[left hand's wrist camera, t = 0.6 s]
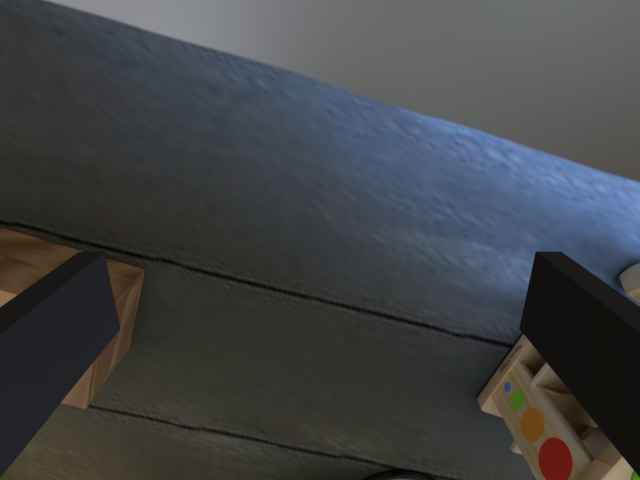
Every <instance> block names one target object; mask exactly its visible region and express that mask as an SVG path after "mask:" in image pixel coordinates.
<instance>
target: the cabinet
mask: <svg viewBox="0 0 640 480" xmlns="http://www.w3.org/2000/svg"><path fill="white" fill-rule="evenodd" d="M78 252H84V251H81V250H77V249H74V248H70V247H67V246H63V245H60V244H57V243H53V242H50V241H46V240H43V239H39V238H36V237H32V236H29V235H26V234H22V233H19V232H15V231H12V230H8V229H5V228H1V227H0V307H1V306H3V305H4V304H5V303H7V302H8V301H10V300H11V299H12V298H14V297H15V296H17V295H18V294H20V293H21V292H22V291H24V290H25V289H27V288H28V287H30V286H31V285H32V284H34V283H35V282H37V281H38V280H39V279H41V278H42V277H44V276H45V275H47V274H48V273H49V272H51V271H52V270H54V269H55V268H57V267H58V266H59V265H61V264H62V263H64V262H65V261H66V260H68V259H69V258H71V257H72V256H74V255H75V254H76V253H78ZM106 263H107V268H108V272H109V277H110V282H111V286H112V291H113V296H114V300H115V305H116V310H117V314H118V319H119V324H120V328H121V329H120V330H119V331H118V333H117V334H116V335H115V336H114V338H113V339H112V340H111V341H110V343H109V344H108V345H107V346H106V348H105V349H104V350H103V351H102V352H101V354H100V355H99V356H98V357H97V359H96V360H95V361H94V362H93V364H92V365H91V366H90V367H89V369H88V370H87V371H86V372H85V373H84V375H83V376H82V377H81V378H80V380H79V381H78V382H77V383H76V385H75V386H74V387H73V388H72V390H71V391H70V392H69V393H68V395H67V396H66V397H65V398H64V399H63V401H62V402H61V403H62V404H66V405H71V406H75V407H79V408H83V409H86V408H87V406H88V405H89V404H90V402H91V401H92V399H93V398H94V397H95V395H96V394H97V392H98V391H99V390H100V388H101V387H102V385H103V384H104V383H105V381H106V380H107V379H108V377H109V376H110V374H111V373H112V372H113V370H114V369H115V367H116V366H117V365H118V363H119V362H120V360H121V359H122V358H123V356H124V355H125V353H126V352H127V351H128V349H129V348H130V345H131V340H132V335H133V330H134V324H135V319H136V314H137V309H138V304H139V299H140V294H141V289H142V284H143V279H144V274H145V269H143V268H139V267H136V266H132V265H129V264H125V263H122V262H118V261H115V260H112V259H108V258H106Z"/></svg>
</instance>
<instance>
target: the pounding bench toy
mask: <svg viewBox="0 0 640 480" xmlns="http://www.w3.org/2000/svg"><path fill="white" fill-rule="evenodd" d="M619 278H620V281H621V284H622V287H623V289H624V292H625V294H626V295H627V296H628V297H630V298H631V299H633V300H634V301H636V302H637V303H639V304H640V263H638V264H635V265H633V266H631V267H629V268H628V269H626V270H625V271H624V272H623V273H622V274H621V275H620V276H619ZM477 401H478V404H479V406H480V408H481V410H482V411H484V412H487V413H490V414H493V415H496V416H499V417H502V418H503V420H504V421H505V423H506V425H507V427H508V429H509V431H510V432H511V434H512V436H513V438H514V441H513V443H512V445H511V447H510V448H511V450H512V451H513V452H516V453H519V454H522V455H523V456H524V458H525V460H526V462H527V463H528V465H529V467H530V469H531V471H532V472H533V474H534V476H535V478H536V480H640V477H639V476H638V475H637V474H636V472H635V471H634V470H633V469H632V468H631V466H630V465H629V464H628V463H627V461H626V460H625V459H624V458H623V456H622V455H621V454H620V453H619V451H618V450H617V449H616V448H615V447H614V445H613V444H612V443H611V442H610V440H609V439H608V438H607V437H606V435H605V434H604V433H603V432H602V430H601V429H600V428H599V427H598V425H597V424H596V423H595V422H594V421H593V419H592V418H591V417H590V416H589V414H588V413H587V412H586V411H585V409H584V408H583V407H582V406H581V404H580V403H579V402H578V401H577V399H576V398H575V397H574V396H573V395H572V393H571V392H570V391H569V390H568V388H567V387H566V386H565V385H564V383H563V382H562V381H561V380H560V378H559V377H558V376H557V375H556V373H555V372H554V371H553V370H552V369H551V367H550V366H549V365H548V364H547V362H546V361H545V360H544V359H543V357H542V356H541V355H540V354H539V352H538V351H537V350H536V349H535V348H534V346H533V345H532V344H531V343H530V341H529V340H528V339H527V338H526V336H525V335H524V334H523V335H522V336H521V338H520V339H519V340H518V342H517V343H516V345H515V346H514V347H513V349H512V350H511V352H510V353H509V354H508V356H507V357H506V358H505V360H504V361H503V363H502V364H501V365H500V367H499V368H498V370H497V371H496V372H495V374H494V375H493V377H492V378H491V379H490V381H489V382H488V384H487V385H486V387H485V388H484V389H483V391H482V392H481V393H480V395H479V396H478V399H477Z"/></svg>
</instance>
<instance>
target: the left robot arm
mask: <svg viewBox="0 0 640 480" xmlns="http://www.w3.org/2000/svg"><path fill="white" fill-rule="evenodd" d="M120 329H121V328H120V324H119V319H118V314H117V310H116V305H115V300H114V296H113V291H112V286H111V282H110V277H109V272H108V268H107V263H106V258H105V254H104V252H78V253H76V254H75V255H74V256H72V257H71V258H69V259H68V260H66V261H65V262H64V263H62V264H61V265H59V266H58V267H57V268H55V269H54V270H52V271H51V272H49V273H48V274H47V275H45V276H44V277H42V278H41V279H39V280H38V281H37V282H35V283H34V284H32V285H31V286H30V287H28V288H27V289H25V290H24V291H22V292H21V293H20V294H18V295H17V296H15V297H14V298H12V299H11V300H10V301H8V302H7V303H5V304H4V305H3V306H1V307H0V477H1V476H2V475H3V474H4V472H5V471H6V470H7V469H8V468H9V466H10V465H11V464H12V463H13V461H14V460H15V459H16V458H17V456H18V455H19V454H20V453H21V451H22V450H23V449H24V448H25V447H26V445H27V444H28V443H29V442H30V440H31V439H32V438H33V437H34V435H35V434H36V433H37V432H38V430H39V429H40V428H41V427H42V425H43V424H44V423H45V422H46V421H47V419H48V418H49V417H50V416H51V414H52V413H53V412H54V411H55V409H56V408H57V407H58V406H59V404H60V403H61V402H62V401H63V399H64V398H65V397H66V396H67V395H68V393H69V392H70V391H71V390H72V388H73V387H74V386H75V385H76V383H77V382H78V381H79V380H80V378H81V377H82V376H83V375H84V373H85V372H86V371H87V370H88V369H89V367H90V366H91V365H92V364H93V362H94V361H95V360H96V359H97V357H98V356H99V355H100V354H101V352H102V351H103V350H104V349H105V348H106V346H107V345H108V344H109V343H110V341H111V340H112V339H113V338H114V336H115V335H116V334H117V333H118V331H119V330H120ZM519 329H520V330H521V331H522V333H523V334H524V335H525V336H526V338H527V339H528V340H529V341H530V343H531V344H532V345H533V346H534V348H535V349H536V350H537V351H538V352H539V354H540V355H541V356H542V357H543V359H544V360H545V361H546V362H547V364H548V365H549V366H550V367H551V369H552V370H553V371H554V372H555V373H556V375H557V376H558V377H559V378H560V380H561V381H562V382H563V383H564V385H565V386H566V387H567V388H568V390H569V391H570V392H571V393H572V395H573V396H574V397H575V398H576V399H577V401H578V402H579V403H580V404H581V406H582V407H583V408H584V409H585V411H586V412H587V413H588V414H589V416H590V417H591V418H592V419H593V421H594V422H595V423H596V424H597V425H598V427H599V428H600V429H601V430H602V432H603V433H604V434H605V435H606V437H607V438H608V439H609V440H610V442H611V443H612V444H613V445H614V447H615V448H616V449H617V450H618V451H619V453H620V454H621V455H622V456H623V458H624V459H625V460H626V461H627V463H628V464H629V465H630V466H631V468H632V469H633V470H634V471H635V472H636V474H637V475H638V476H639V477H640V307H639V306H637V305H636V304H635V303H633V302H632V301H630V300H629V299H628V298H626V297H625V296H623V295H622V294H620V293H619V292H618V291H616V290H615V289H613V288H612V287H610V286H609V285H608V284H606V283H605V282H603V281H602V280H601V279H599V278H598V277H596V276H595V275H593V274H592V273H591V272H589V271H588V270H586V269H585V268H583V267H582V266H581V265H579V264H578V263H576V262H575V261H574V260H572V259H571V258H569V257H568V256H566V255H565V254H564V253H562V252H536V254H535V258H534V263H533V268H532V272H531V277H530V282H529V286H528V291H527V296H526V300H525V305H524V310H523V314H522V319H521V324H520V328H519ZM366 480H435V479H433V478H431V477H429V476H426V475H424V474H420V473H415V472H408V471H395V472H387V473H382V474H378V475H375V476H372V477H370V478H368V479H366Z"/></svg>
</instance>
